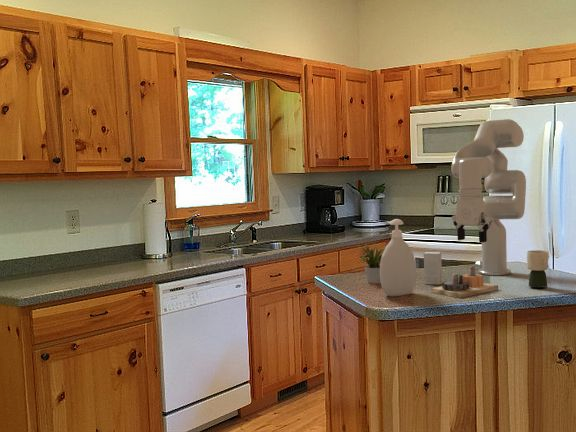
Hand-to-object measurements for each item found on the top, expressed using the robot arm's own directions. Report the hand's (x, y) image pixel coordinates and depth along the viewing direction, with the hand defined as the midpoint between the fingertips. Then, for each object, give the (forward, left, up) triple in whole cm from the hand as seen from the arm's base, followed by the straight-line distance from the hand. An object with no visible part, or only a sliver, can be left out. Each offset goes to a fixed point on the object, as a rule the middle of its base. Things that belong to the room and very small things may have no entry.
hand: (471, 240), depth 211 cm
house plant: (-36, -18, -18) cm, 44 cm away
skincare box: (-17, -3, -18) cm, 25 cm away
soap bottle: (-12, -26, -18) cm, 33 cm away
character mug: (+14, +17, -18) cm, 29 cm away
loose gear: (0, 0, -16) cm, 16 cm away
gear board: (0, -5, -17) cm, 18 cm away
